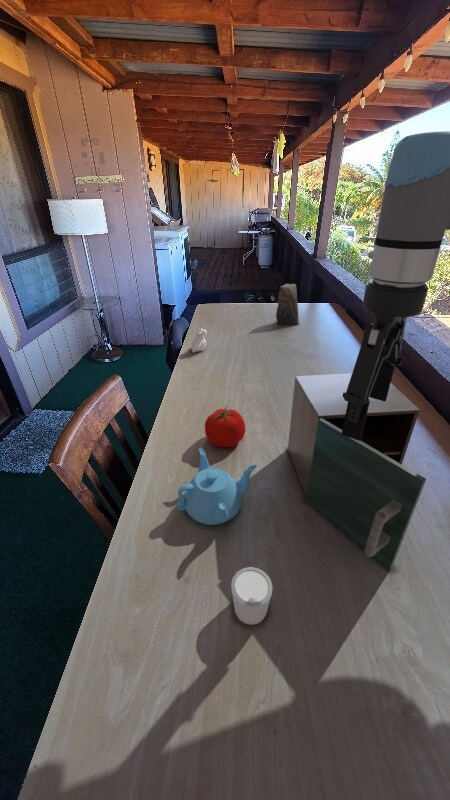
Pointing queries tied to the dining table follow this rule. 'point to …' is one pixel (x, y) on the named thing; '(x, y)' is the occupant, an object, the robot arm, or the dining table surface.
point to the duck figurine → (199, 341)
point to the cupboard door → (362, 492)
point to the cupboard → (325, 400)
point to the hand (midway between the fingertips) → (365, 416)
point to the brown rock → (287, 305)
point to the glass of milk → (251, 594)
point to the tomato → (224, 427)
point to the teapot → (213, 493)
